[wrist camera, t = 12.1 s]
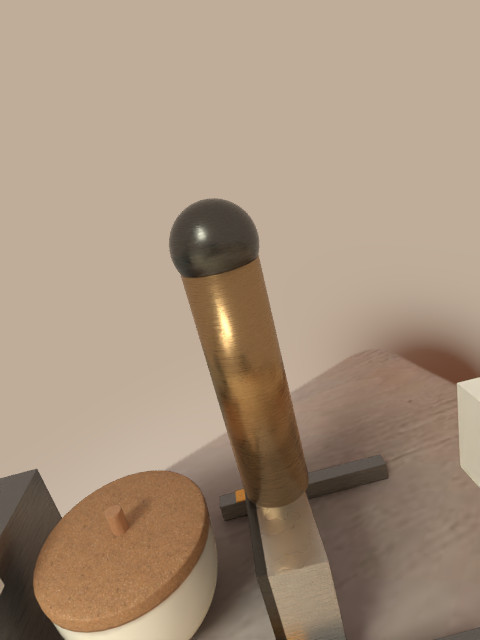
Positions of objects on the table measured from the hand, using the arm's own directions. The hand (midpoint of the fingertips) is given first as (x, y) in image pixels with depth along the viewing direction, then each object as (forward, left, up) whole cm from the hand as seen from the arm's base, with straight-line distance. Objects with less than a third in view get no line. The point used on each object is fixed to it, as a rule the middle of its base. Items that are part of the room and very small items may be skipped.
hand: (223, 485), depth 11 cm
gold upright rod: (+1, +12, -19) cm, 22 cm away
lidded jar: (-9, +12, -19) cm, 24 cm away
